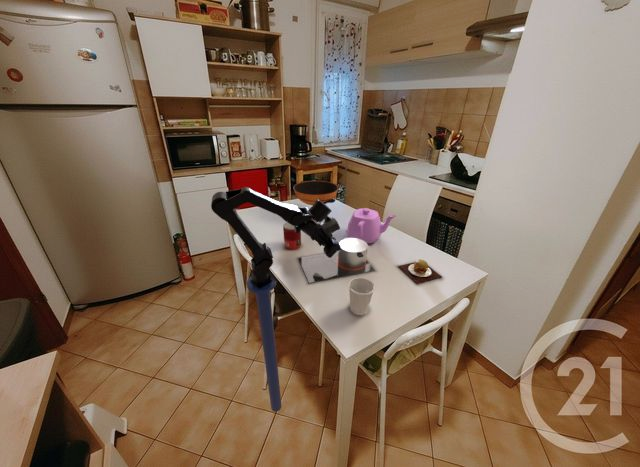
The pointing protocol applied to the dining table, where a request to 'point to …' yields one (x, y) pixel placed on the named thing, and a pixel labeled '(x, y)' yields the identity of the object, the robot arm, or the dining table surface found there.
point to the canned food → (291, 237)
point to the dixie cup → (360, 295)
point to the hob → (328, 268)
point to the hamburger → (419, 271)
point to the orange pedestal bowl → (315, 191)
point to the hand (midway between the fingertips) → (339, 249)
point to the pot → (352, 253)
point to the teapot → (367, 225)
